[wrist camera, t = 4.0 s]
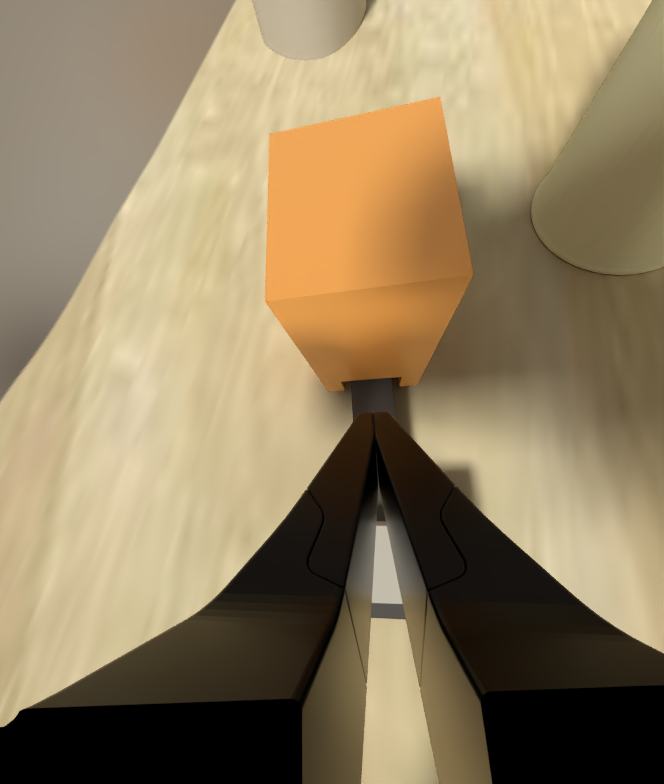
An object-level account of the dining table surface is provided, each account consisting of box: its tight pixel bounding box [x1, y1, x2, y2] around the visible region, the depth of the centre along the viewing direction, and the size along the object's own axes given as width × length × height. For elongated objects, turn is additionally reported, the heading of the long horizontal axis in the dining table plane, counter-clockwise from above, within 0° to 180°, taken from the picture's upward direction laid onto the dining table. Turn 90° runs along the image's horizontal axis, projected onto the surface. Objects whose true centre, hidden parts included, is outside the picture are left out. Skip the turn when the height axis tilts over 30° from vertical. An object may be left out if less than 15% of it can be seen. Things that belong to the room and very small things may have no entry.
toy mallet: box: [351, 378, 406, 619], centre depth 15 cm, size 26×7×5 cm, turn 2°
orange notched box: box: [265, 97, 474, 392], centre depth 12 cm, size 6×5×10 cm
